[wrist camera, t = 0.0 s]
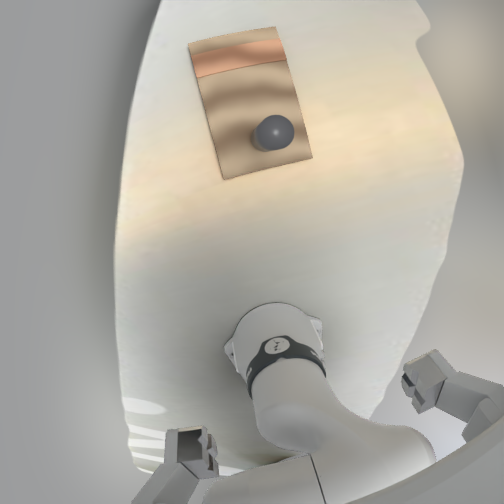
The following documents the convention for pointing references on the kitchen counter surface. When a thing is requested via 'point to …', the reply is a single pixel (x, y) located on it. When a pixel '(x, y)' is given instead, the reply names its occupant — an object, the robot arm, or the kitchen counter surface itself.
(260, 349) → the robot arm
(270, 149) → the round-topped grey cylinder
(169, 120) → the kitchen counter surface
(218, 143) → the board
